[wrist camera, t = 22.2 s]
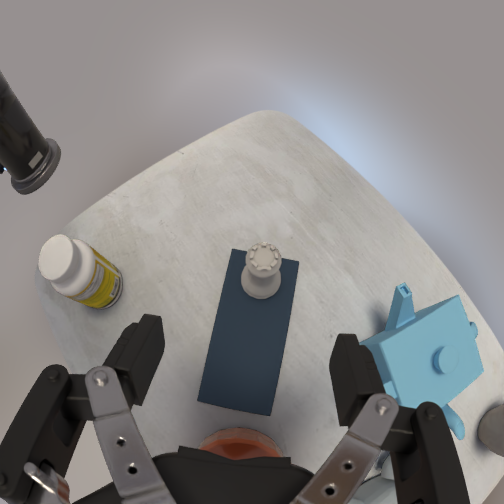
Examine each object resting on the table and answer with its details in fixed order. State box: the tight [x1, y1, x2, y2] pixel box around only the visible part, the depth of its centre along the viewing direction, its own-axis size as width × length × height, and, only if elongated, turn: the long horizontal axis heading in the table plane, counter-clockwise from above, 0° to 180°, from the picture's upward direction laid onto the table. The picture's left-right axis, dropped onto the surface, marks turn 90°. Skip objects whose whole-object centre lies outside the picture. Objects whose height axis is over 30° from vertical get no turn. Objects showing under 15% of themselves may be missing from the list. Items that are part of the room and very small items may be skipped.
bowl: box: [197, 427, 284, 460], centre depth 23 cm, size 10×10×5 cm
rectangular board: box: [197, 249, 299, 416], centre depth 31 cm, size 18×8×1 cm, turn 169°
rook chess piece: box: [241, 243, 282, 299], centre depth 29 cm, size 4×4×8 cm
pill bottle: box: [38, 235, 122, 309], centre depth 28 cm, size 6×6×11 cm
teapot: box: [359, 282, 484, 440], centre depth 24 cm, size 16×18×11 cm
